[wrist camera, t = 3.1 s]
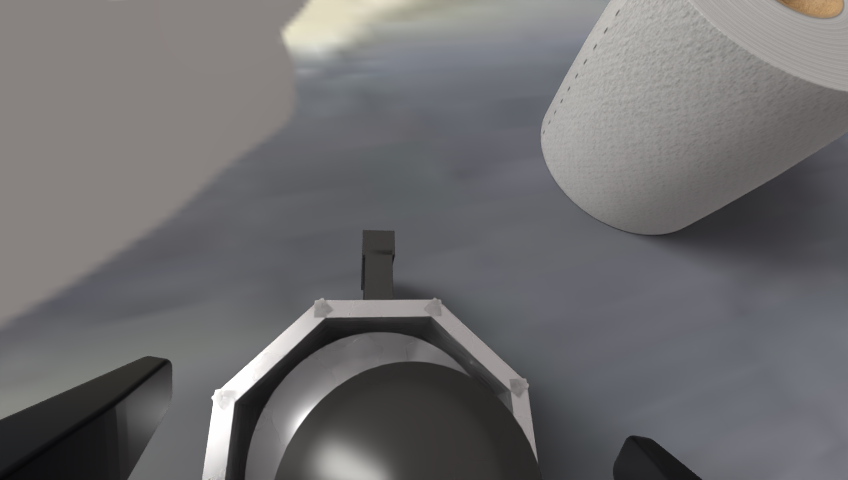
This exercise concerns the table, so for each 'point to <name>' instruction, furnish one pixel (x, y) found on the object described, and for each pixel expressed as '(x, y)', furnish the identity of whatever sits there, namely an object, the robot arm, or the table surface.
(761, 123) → the toilet paper roll
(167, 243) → the table surface
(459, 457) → the silver black coffee tamper
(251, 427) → the octagonal open box
